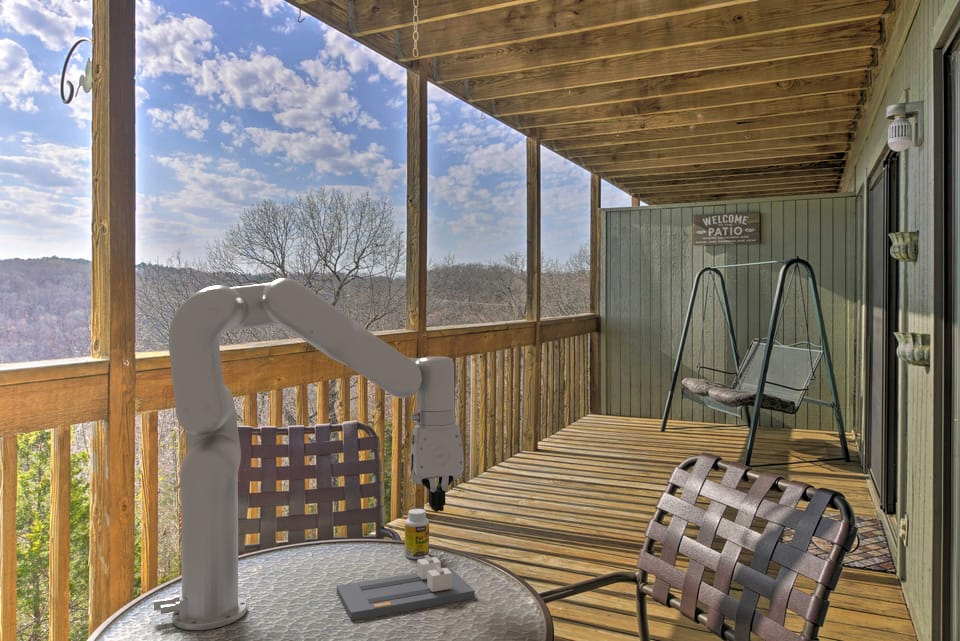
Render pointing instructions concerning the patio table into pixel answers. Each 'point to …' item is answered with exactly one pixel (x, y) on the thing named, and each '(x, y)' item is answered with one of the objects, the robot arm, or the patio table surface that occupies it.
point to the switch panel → (398, 595)
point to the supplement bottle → (416, 534)
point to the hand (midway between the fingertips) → (437, 509)
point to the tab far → (426, 566)
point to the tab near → (439, 579)
